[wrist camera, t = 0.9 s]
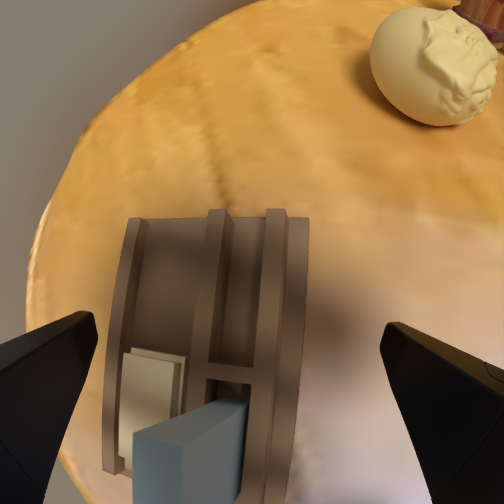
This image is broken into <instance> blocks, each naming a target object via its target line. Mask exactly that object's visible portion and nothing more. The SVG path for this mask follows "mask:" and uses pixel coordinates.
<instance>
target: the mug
mask: <svg viewBox="0 0 504 504" xmlns="http://www.w3.org/2000/svg"><path fill="white" fill-rule="evenodd" d="M452 10H453V11H454V12H455V13H456V14H457V15H458V16H460V17H461V18H464V19H466V20H467V21H468V22H469V23H472V24H473V25H475V26H477V27H478V28H479V29H480V30H481V31H482V32H483V33H484V34H485V36H486V37H487V39H488V40H489V42H490V43H491V44H492V45H493V46H494V47H495V48H496V49H500V48H502V46H503V42H504V0H461V3H460V5H458V6H453V8H452Z"/></svg>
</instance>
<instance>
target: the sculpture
mask: <svg viewBox="0 0 504 504" xmlns="http://www.w3.org/2000/svg"><path fill="white" fill-rule="evenodd" d="M497 61H498V53H497V50H496V48H495V47H494V46H493V45H492V44H491V43H490V42H489V40H488V39H487V37H486V36H485V34H484V33H483V32H482V31H481V30H480V29H479V28H478V27H477V26H475V25H473V24H472V23H469V22H468V21H467V20H466V19H464V18H461V17H460V16H458V15H457V14H456V13H455V12H454V11H452V10H450V9H448V10H445V11H438V10H435V9H431V8H425V7H409V8H404V9H401V10H398V11H396V12H394V13H392V14H391V15H389V16H388V17H387V18H386V19H385V20H384V21H383V22H382V23H381V24H380V25H379V27H378V29H377V30H376V32H375V34H374V37H373V39H372V43H371V47H370V65H371V70H372V74H373V77H374V79H375V82H376V84H377V86H378V87H379V89H380V91H381V92H382V94H383V95H384V96H385V97H386V99H387V100H388V101H389V102H390V103H391V104H392V105H394V106H395V107H396V108H397V109H398V110H400V111H401V112H402V113H404V114H405V115H407V116H409V117H411V118H412V119H414V120H417V121H419V122H421V123H424V124H428V125H433V126H448V125H463V124H465V123H467V122H469V121H471V120H472V119H473V118H474V116H475V115H476V114H481V113H482V112H483V110H484V107H483V106H484V105H486V104H488V103H489V101H490V99H491V92H492V90H493V88H494V86H495V83H496V79H495V77H496V76H497V71H496V66H497Z"/></svg>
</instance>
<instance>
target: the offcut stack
mask: <svg viewBox="0 0 504 504" xmlns="http://www.w3.org/2000/svg"><path fill="white" fill-rule="evenodd" d="M189 362H190V357H186V356H180V355H174V354H168V353H163V352H157V351H152V350H147V349H141V348H131V353H124V355H123V365H122V378H121V392H120V411H119V456H121V457H123V458H125V468H126V469H129V470H131V471H132V442H133V432H136V431H139V430H142V429H144V428H147V427H150V426H153V425H156V424H158V423H161V422H164V421H166V420H169V419H171V418H174V417H177V416H179V415H182V414H184V413H185V409H186V396H187V384H188V373H189Z"/></svg>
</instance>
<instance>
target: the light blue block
mask: <svg viewBox="0 0 504 504" xmlns="http://www.w3.org/2000/svg"><path fill="white" fill-rule="evenodd" d="M249 407H250V401H248V400H240V399H233V398H226V397H222V398H220V399H217V400H215V401H213V402H210V403H208V404H206V405H203V406H201V407H199V408H196V409H194V410H192V411H189V412H187V413H184V414H182V415H179V416H177V417H174V418H171V419H169V420H166V421H164V422H161V423H158V424H156V425H153V426H150V427H147V428H144V429H142V430H139V431H136V432H133V442H132V486H133V504H233V503H234V501H235V500H236V498H237V496H238V495H239V493H240V492H241V486H242V476H243V466H244V457H245V447H246V437H247V427H248V417H249Z"/></svg>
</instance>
